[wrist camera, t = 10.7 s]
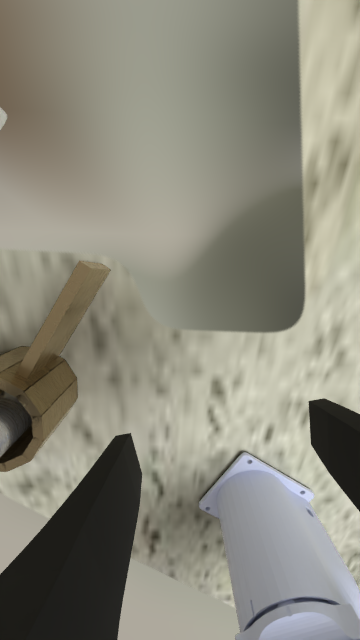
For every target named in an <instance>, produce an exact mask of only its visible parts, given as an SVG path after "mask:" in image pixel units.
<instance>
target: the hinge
mask: <svg viewBox="0 0 360 640" xmlns="http://www.w3.org/2000/svg"><path fill="white" fill-rule="evenodd" d="M109 272H110V269H109V268H107V267H106V266H104V265H103V264H99V263H92V262H85V261H79V262H78V264H77V266H76V268H75V269H74V271H73V273H72V275H71V276H70V278H69V280H68V282H67V283H66V285H65V287H64V289H63V290H62V292H61V294H60V296H59V298H58V299H57V301H56V303H55V305H54V306H53V308H52V310H51V312H50V313H49V315H48V317H47V319H46V320H45V322H44V324H43V326H42V327H41V329H40V331H39V333H38V335H37V336H36V338H35V340H34V342H33V343H32V345H31V347H24V346H21V347H18V348H16V349H14V350H12V351H9V352H7V353H5V354H3V355H1V356H0V394H1V393H2V390H3V391H5V392H7V393H9V394H10V395H12V396H14V397H16V398H17V399H18V400H19V401H20V403H21V404H22V405H23V407H24V408H25V410H26V411H27V412H28V414H29V415H30V416H31V420H32V425H31V426H30V427H29V428H28V429H27V430H26V431H25V432H24V433H23V434H22V435H21V436H20V437H19V438H18V439H17V440H16V441H15V442H14V443H13V444H12V446H11V447H10V448H9V449H8V450H7V451H6V452H5V453H4V454H3V455H2V456H1V457H0V471H1V472H6V471H10V470H12V469H14V468H16V467H19V466H21V465H23V464H25V463H28V462H30V461H31V460H32V459H33V458H34V456H35V455H36V454H37V452H38V451H39V450H40V449H41V447H42V446H43V445H44V443H45V442H46V441H47V439H48V438H49V437H50V436H51V434H52V433H53V432H54V430H55V429H56V428H57V426H58V425H59V424H60V423H61V421H62V420H63V419H64V417H65V416H66V415H67V414H68V412H69V410H70V409H71V407H72V406H73V404H74V403H75V401H76V400H77V398H78V394H77V379H76V378H77V377H76V376H75V374H74V373H73V371H72V370H71V368H70V367H69V365H68V364H67V362H66V361H65V360H64V359H63V358H61V357H59V355H60V353H61V352H62V350H63V348H64V347H65V345H66V343H67V342H68V340H69V338H70V337H71V335H72V333H73V332H74V330H75V328H76V327H77V325H78V324H79V322H80V320H81V319H82V317H83V315H84V314H85V312H86V310H87V309H88V307H89V305H90V304H91V302H92V300H93V299H94V297H95V295H96V294H97V292H98V290H99V289H100V287H101V285H102V284H103V282H104V280H105V279H106V277H107V275H108V274H109Z"/></svg>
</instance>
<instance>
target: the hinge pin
mask: <svg viewBox="0 0 360 640" xmlns="http://www.w3.org/2000/svg"><path fill="white" fill-rule="evenodd" d="M31 425H32V420H31V416H30V415H29V414H28V412H27V411H26V410H25V408H24V407H23V405H22V404H21V403H20V401H19V400H18V399H17V398H16V397H14V396H12V395H10V394H9V393H7V392H5V391H4V392H2V393H1V394H0V457H1V456H2V455H3V454H4V453H5V452H6V451H7V450H8V449H9V448H10V447H11V446H12V444H13V443H14V442H15V441H16V440H17V439H18V438H19V437H20V436H21V435H22V434H23V433H24V432H25V431H26V430H27V429H28V428H29V427H30V426H31Z"/></svg>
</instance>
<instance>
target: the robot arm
mask: <svg viewBox="0 0 360 640" xmlns="http://www.w3.org/2000/svg"><path fill="white" fill-rule="evenodd" d="M309 415H310V433H311V445H312V447H313V448H314V450H315V451H316V453H317V455H318V456H319V458H320V459H321V461H322V462H323V464H324V465H325V467H326V468H327V470H328V472H329V473H330V474H331V476H332V477H333V478H334V480H335V481H336V482H337V483H338V485H339V486H340V487H341V489H342V490H343V491H344V492H345V494H346V495H347V496H348V497H349V499H350V500H351V501H352V502H353V504H354V505H355V506H356V508H357V509H358V510H359V511H360V414H358V413H356V412H354V411H351V410H349V409H347V408H345V407H343V406H341V405H338V404H336V403H334V402H331V401H329V400H327V399H319V400H313V401H309ZM248 460H249V461H248ZM141 482H142V472H141V468H140V465H139V461H138V458H137V454H136V450H135V447H134V443H133V440H132V436H131V433H129V434H123V435H118V436H115V438H114V439H113V440H112V441H111V443H110V444H109V445H108V447H107V448H106V449H105V451H104V452H103V453H102V455H101V456H100V457H99V459H98V460H97V461H96V463H95V464H94V465H93V467H92V468H91V469H90V471H89V472H88V473H87V474H86V476H85V477H84V478H83V480H82V481H81V482H80V483H79V485H78V486H77V487H76V489H75V490H74V491H73V492H72V493H71V495H70V496H69V497H68V498H67V500H66V501H65V502H64V503H63V504H62V506H61V507H60V508H59V509H58V510H57V512H56V513H55V514H54V515H53V516H52V518H51V519H50V520H49V521H48V522H47V524H46V525H45V526H44V527H43V528H42V529H41V531H40V532H39V533H38V534H37V535H36V536H35V537H34V538H33V540H32V541H31V542H30V543H29V544H28V545H27V546H26V547H25V548H24V550H23V551H22V552H21V553H20V554H19V555H18V556H17V557H16V558H15V559H14V560H13V561H12V562H11V564H10V565H9V566H8V567H7V568H6V569H5V570H4V571H3V572H2V573H1V574H0V640H117V636H118V628H119V620H120V614H121V607H122V601H123V595H124V590H125V584H126V578H127V573H128V567H129V562H130V557H131V551H132V546H133V540H134V534H135V529H136V523H137V517H138V512H139V506H140V495H141ZM313 498H314V494H313V492H312V491H311V490H310V489H308V488H306V487H305V486H303V485H301V484H300V483H298V482H296V481H295V480H293V479H291V478H289V477H288V476H286V475H284V474H283V473H281V472H279V471H278V470H276V469H274V468H272V467H271V466H269V465H267V464H266V463H264V462H262V461H260V460H259V459H257V458H255V457H254V456H252V455H250V454H249V453H246V452H244V453H242V454H241V455H240V456H239V457H238V458H237V459H236V460H235V461H234V463H233V464H232V465H231V466H230V467H229V468H228V469H227V471H226V472H225V473H224V474H223V475H222V476H221V477H220V479H219V480H218V481H217V482H216V483H215V484H214V485H213V487H212V488H211V489H210V490H209V491H208V492H207V493H206V495H205V496H204V497H203V498H202V499H201V500H200V502H199V508H200V509H201V510H203V511H205V512H207V513H209V514H211V515H213V516H215V517H217V518H218V519H220V524H221V530H222V535H223V541H224V546H225V552H226V557H227V563H228V568H229V574H230V579H231V584H232V590H233V595H234V601H235V606H236V612H237V617H238V622H239V628H240V633H239V634H236V635H235V639H236V640H360V591H359V589H358V586H357V584H356V582H355V580H354V578H353V576H352V574H351V572H350V571H349V569H348V567H347V566H346V564H345V562H344V560H343V559H342V557H341V555H340V554H339V552H338V550H337V549H336V547H335V545H334V543H333V542H332V540H331V538H330V537H329V535H328V533H327V532H326V530H325V528H324V527H323V525H322V523H321V521H320V520H319V518H318V516H317V515H316V513H315V511H314V510H313V508H312V506H311V505H310V503H309V502H310V501H311V500H312V499H313Z"/></svg>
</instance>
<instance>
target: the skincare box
mask: <svg viewBox="0 0 360 640" xmlns="http://www.w3.org/2000/svg"><path fill="white" fill-rule="evenodd" d="M6 120H7V114H6V113H5V112H4V110H3V109H2V108H0V131H1V129H2V127H3V125H4V124H5V122H6Z"/></svg>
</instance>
